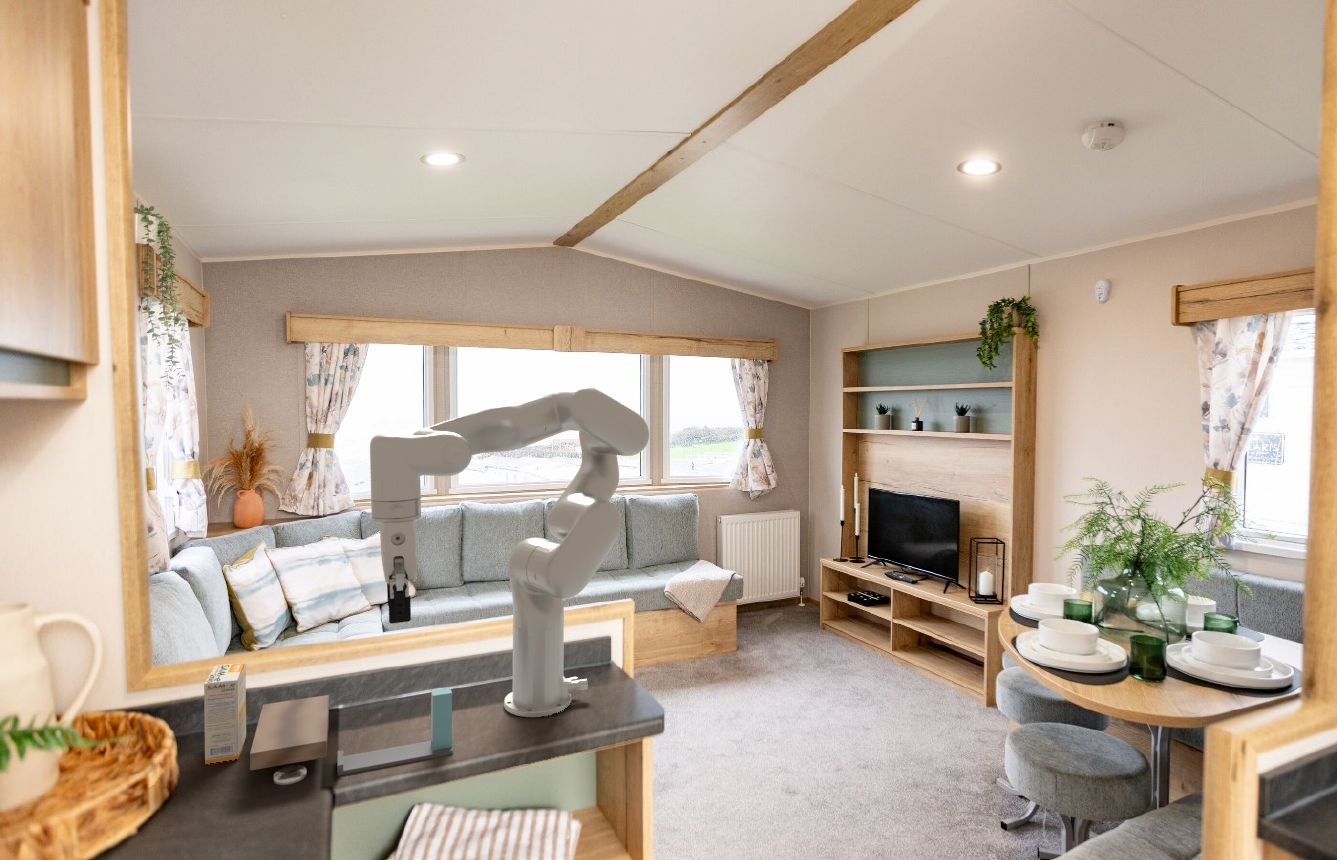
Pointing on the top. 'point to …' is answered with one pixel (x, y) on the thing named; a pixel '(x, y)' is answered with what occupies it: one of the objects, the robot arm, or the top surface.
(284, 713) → the low block
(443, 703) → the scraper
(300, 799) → the top surface
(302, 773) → the steel token
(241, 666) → the supplement box
